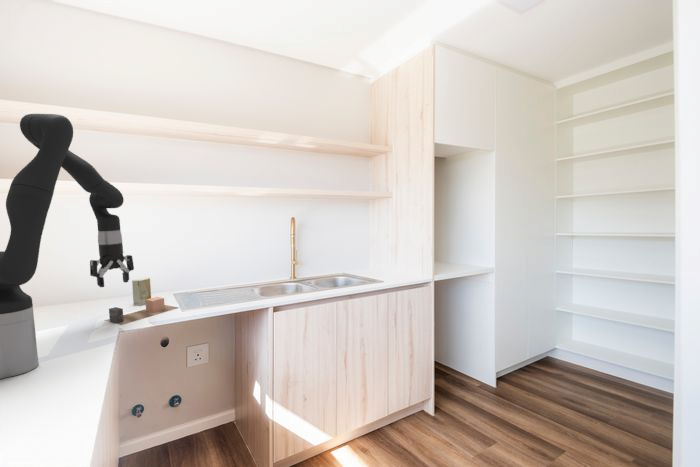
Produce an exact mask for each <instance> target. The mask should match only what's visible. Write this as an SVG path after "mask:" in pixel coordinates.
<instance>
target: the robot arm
mask: <svg viewBox="0 0 700 467" xmlns="http://www.w3.org/2000/svg"><path fill="white" fill-rule="evenodd" d="M19 128H20V132H21V133H22V135H23V137H24V138H25V139H27V141H28V142H29V143H31V144H32V145H33V146H34V147H36V148H37V149H38V151H37V153H36V155H35V156H34V157H33V158H32V159H31V161H29V162H28V163H27V164H26V165H25V166H24V167H23V168H22V169H21V170H19V172H18V173H16V175H15V176H14V177H13V179H12V180H11V184H10V185H9V188H8V189H9V190H8V193H7V195H6V199H5V209H6V213H7V217H8V220H9V225H10V235H9V238H8V242H7V245H6V247H5V250H4V251H1V250H0V380H1V379H4V378H9V377H14V376H19V375H23V374H24V373H27V372H30V371H33V370H34V369H36V368H37V367H38V366H39V356H38V355H39V354H38V345H37V334H36V325H35V317H34V316H35V314H34V306H33V304H34V303H33V298H32V296H30V295H29V294H27V293H26V292H24V291H23V289H22V288H21V286H23V285H24V284H27V283H28V282H29V281H31V279H33V276H34V275H35V273H36V272H37V268H38V262H39V255H40V248H41V246H40V245H41V242H42V241H41V240H42V235H43V231H44V228H45V224H46V221H47V220H46V219H47V217H48V213H49V210H50V206H51V204H52V200H53V196H54V192H55V188H56V183H57V180H58V178H59V174H60V172H61V168H62V169H63V170H64V171H65V172H66V173H67V174H68V175H70V176H71V177H72V178H73V180H74V181H76V183H77V184H78V185H79V186H80V187H81V188H82V189H83V190H84V191H85V192H87V193H89V198H88V199H89V200H88V202H89V205H90V207H91V210H92V211H93V214H94V216H95V219H96V223H97V243H98V244H97V245H98V254H99V259H97V260H94V259H91V260H90V261H89V271H90V272H89V275H90V276H91V277H93V278H94V277H95V278H96V283H97V286H98V287H99V288H104V287H105V281H104V280H105V279H104V275H105V274H106V273H107V272H108V270H109V271H110V270H113V269H120V271H122V282H123V283H129V281H130V272H132V271H134V270H135V267H134V260H133V259H134V258H133V255H132V254H131V255H129V254H127V255H125V256H124V247H123V236H122V230H121V222H120V221H121V220H120V216H118V215H116V214H112V213H110V212H109V211H108V209H118V208H120V207H122V205H123V204H124V201H125V200H124V196H123V194H122V192H121V191H120V190H119V188H117V187H115V186H114V185H113V184H111V183H110V182H108V180H105V179H104V178H103V177H102V175H101V174H100V173H99V172H98V171H97V169H96V168H95V167H94V166H93V165H92V164H90V162H88V161H86V160H85V159H83V158H82V157H80V156H78V155H77V154H76V153H74V152H72V151H71V150H69V149H70V146H71V144H72V141H73V137H74V127H73V124H72V122H71V121H70V119H69V118H68V117H66V116H65V115H61V114H57V113H55V114H54V113H29V114H25V115H24V116H22V118H21V119H20V122H19ZM124 261H126V265H125V264H124ZM99 264H100V265H101V266H100V267H99V269H98V266H99Z"/></svg>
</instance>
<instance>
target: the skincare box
mask: <svg viewBox="0 0 700 467" xmlns="http://www.w3.org/2000/svg"><path fill="white" fill-rule="evenodd" d="M131 284H132V285H131V286H132V298H133V299H132V300H133V301H132V304H133V306H135V307H142V306H144V305H145V306H146V301H145V300H146V299H150V298H152V292H151V291H152V289H151V288H152V287H151V278H150V277H141V278H137V279H134V280H133V279H132V281H131Z"/></svg>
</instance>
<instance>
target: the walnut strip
mask: <svg viewBox="0 0 700 467" xmlns="http://www.w3.org/2000/svg"><path fill="white" fill-rule="evenodd" d="M164 305H165V310H161V311H158V312H155V313H152V312H147V311H146V308H144V309H141V310H138V311H133V312H130V313H127V314H124V310H123V308H121V307H116V306H115V307H111V308H108V314H109V318H107V319H104V322H108V323H111V324H117V325H119V326H123V325H127V324H131V323H133V322H137V321H140V320H144V319H146V318H149V317H154V316H157V315H160V314H164V313H167V312H171V311H173V310H174V311H175V310H177V309H179V307H177V306H172V305H167V304H164Z"/></svg>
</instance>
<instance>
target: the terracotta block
mask: <svg viewBox="0 0 700 467" xmlns="http://www.w3.org/2000/svg"><path fill="white" fill-rule="evenodd" d="M145 301H146V304H145V309H146V311H147V312H152V313H155V312H158V311H161V310H165V305H166V304H165V298H164V297H161V296H160V297H159V296H154V297H151V298H150V299H146V300H145Z"/></svg>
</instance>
